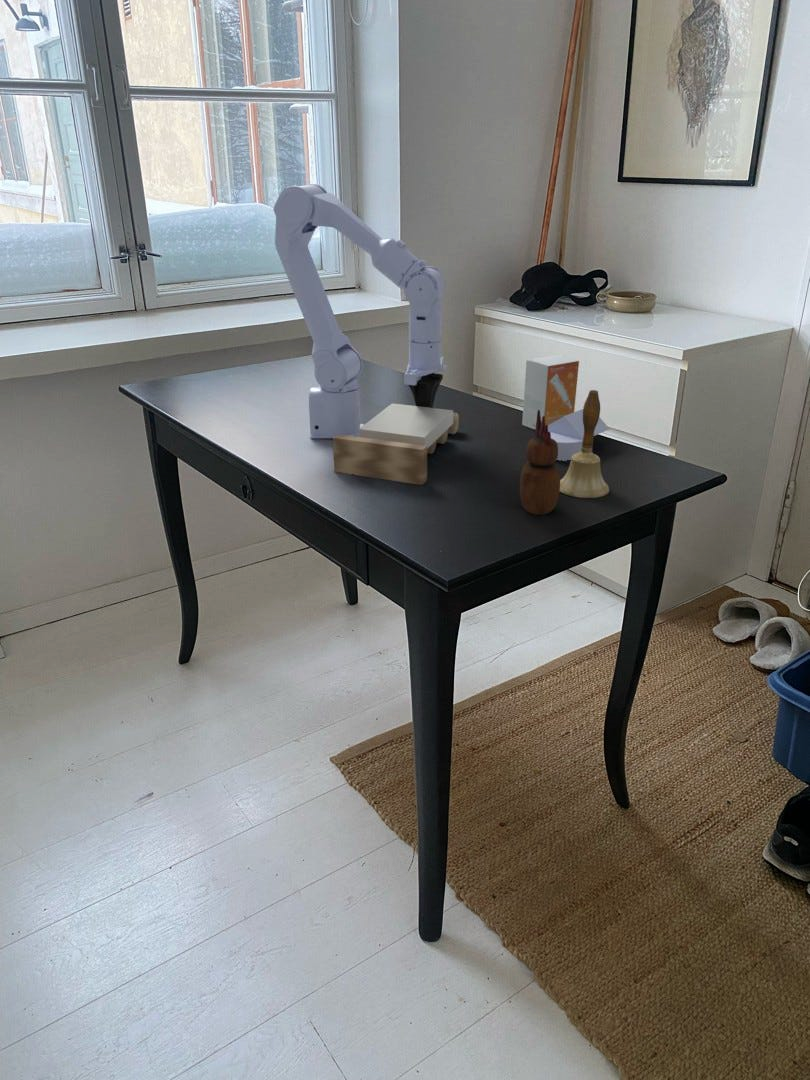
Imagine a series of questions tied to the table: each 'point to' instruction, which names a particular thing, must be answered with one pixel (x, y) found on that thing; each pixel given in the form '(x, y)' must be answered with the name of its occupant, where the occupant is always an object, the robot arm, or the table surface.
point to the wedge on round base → (571, 434)
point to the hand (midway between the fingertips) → (424, 414)
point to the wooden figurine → (540, 472)
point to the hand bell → (586, 458)
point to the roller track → (445, 433)
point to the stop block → (380, 459)
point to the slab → (408, 424)
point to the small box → (549, 389)
